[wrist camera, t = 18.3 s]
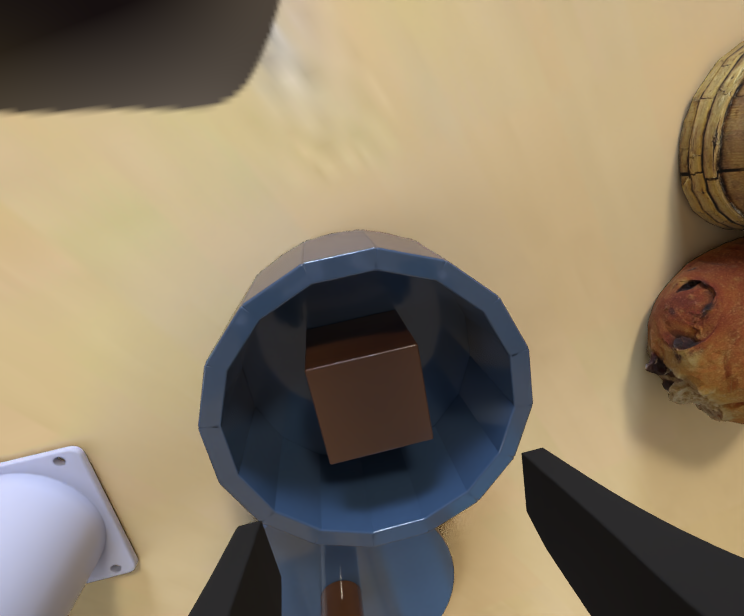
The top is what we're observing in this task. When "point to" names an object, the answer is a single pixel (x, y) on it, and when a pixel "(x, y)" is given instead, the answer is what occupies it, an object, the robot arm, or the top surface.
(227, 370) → the bowl
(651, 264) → the top surface
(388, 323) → the block
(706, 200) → the wooden mug
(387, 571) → the bowl lid
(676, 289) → the bread roll
